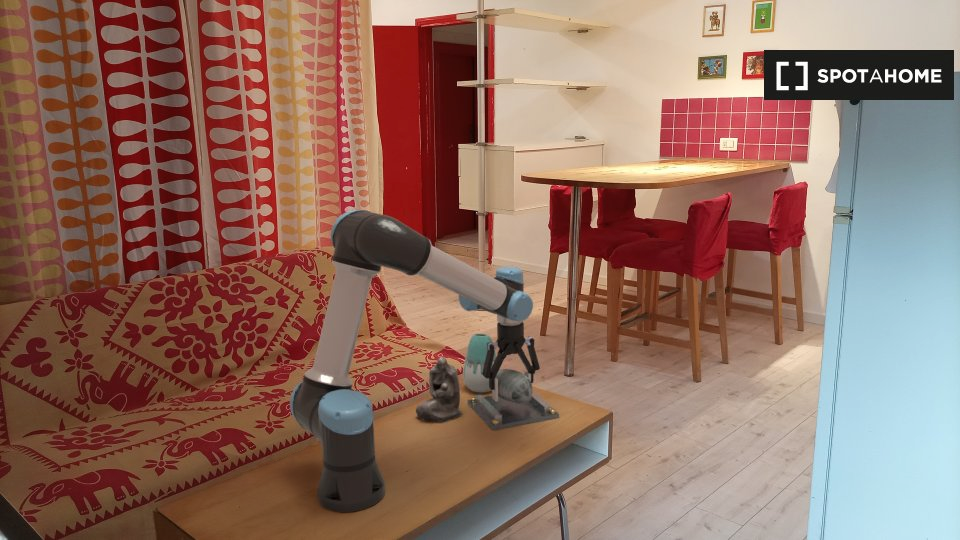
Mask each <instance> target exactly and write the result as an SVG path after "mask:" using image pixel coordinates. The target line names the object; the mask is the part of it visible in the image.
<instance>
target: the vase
mask: <svg viewBox="0 0 960 540" xmlns="http://www.w3.org/2000/svg"><path fill="white" fill-rule="evenodd" d="M488 342H490V343H494V342H493V339H492V338H491V336H490V335H489V334H487V333H482V332H481V333H478V332H477V333H474V334H473V335H472V336H471V337H470V339H469V343H468V346H467V350H466V355H465V359H464V363H463V370H462V380H463V382H464V385H465V387H466V388H467V389H468V390H470V391H471V392H474V393H479V394H480V393H482V394H483V393H488V392H489V393H490V392H492V390H491V389H490V388H489V379H486V378H485V377H484V376H483V375H482V373H483V368H484V364H485V359H486V355H487V343H488ZM496 357H497V353H496V350H495V351H494V358H493V362H492V365H493V363H494V361H495V359H496ZM491 368H492V367H491ZM499 370H501V368H500V369H499Z"/></svg>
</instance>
